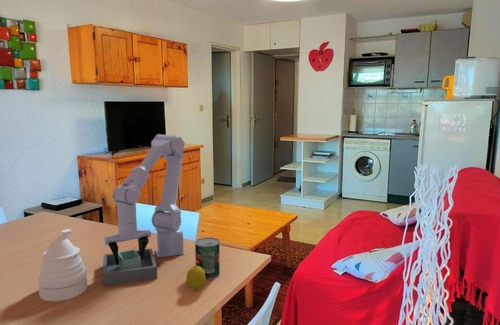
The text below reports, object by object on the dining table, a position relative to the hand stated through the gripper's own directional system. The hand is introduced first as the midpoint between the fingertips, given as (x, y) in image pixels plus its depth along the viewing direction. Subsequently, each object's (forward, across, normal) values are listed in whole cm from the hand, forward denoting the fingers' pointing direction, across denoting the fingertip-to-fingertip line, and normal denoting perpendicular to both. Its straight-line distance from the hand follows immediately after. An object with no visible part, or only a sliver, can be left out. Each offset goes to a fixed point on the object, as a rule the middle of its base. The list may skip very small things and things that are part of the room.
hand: (129, 261), depth 122 cm
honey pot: (+4, +20, +2) cm, 20 cm away
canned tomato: (+4, -22, +14) cm, 26 cm away
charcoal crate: (+4, 0, 0) cm, 4 cm away
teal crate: (+3, 0, 0) cm, 3 cm away
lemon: (+4, -14, +23) cm, 27 cm away
